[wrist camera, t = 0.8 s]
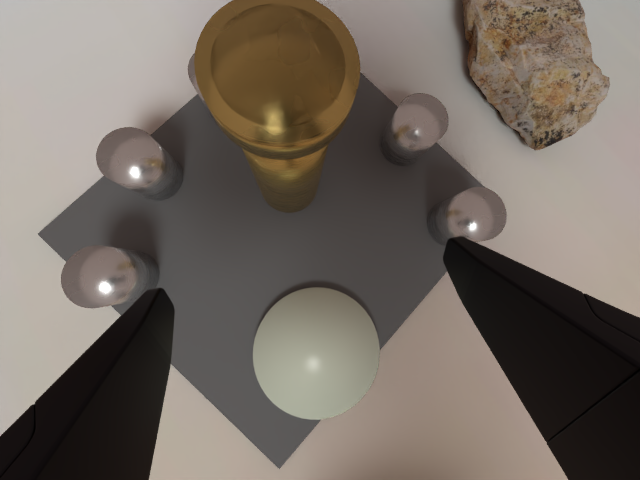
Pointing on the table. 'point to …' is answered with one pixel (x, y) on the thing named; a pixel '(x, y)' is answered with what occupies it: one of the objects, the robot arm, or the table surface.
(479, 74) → the stone
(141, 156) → the spacers
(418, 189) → the mat
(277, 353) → the pad
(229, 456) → the table surface
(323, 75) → the brass sleeve
